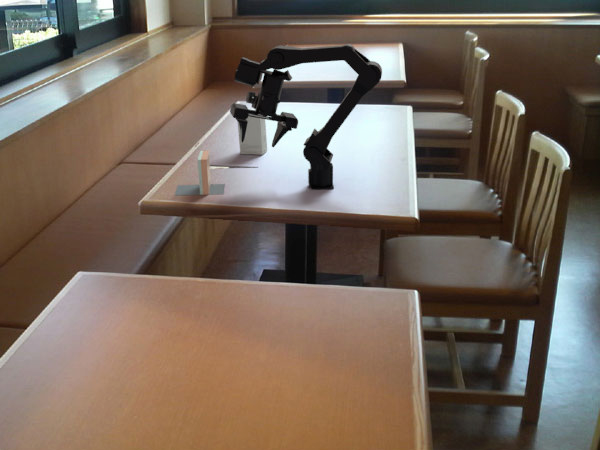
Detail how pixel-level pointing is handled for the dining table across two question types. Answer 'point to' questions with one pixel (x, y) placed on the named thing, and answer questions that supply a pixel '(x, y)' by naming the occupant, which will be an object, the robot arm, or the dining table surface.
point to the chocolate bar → (228, 167)
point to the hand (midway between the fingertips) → (257, 144)
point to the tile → (204, 172)
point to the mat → (196, 189)
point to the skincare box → (254, 136)
